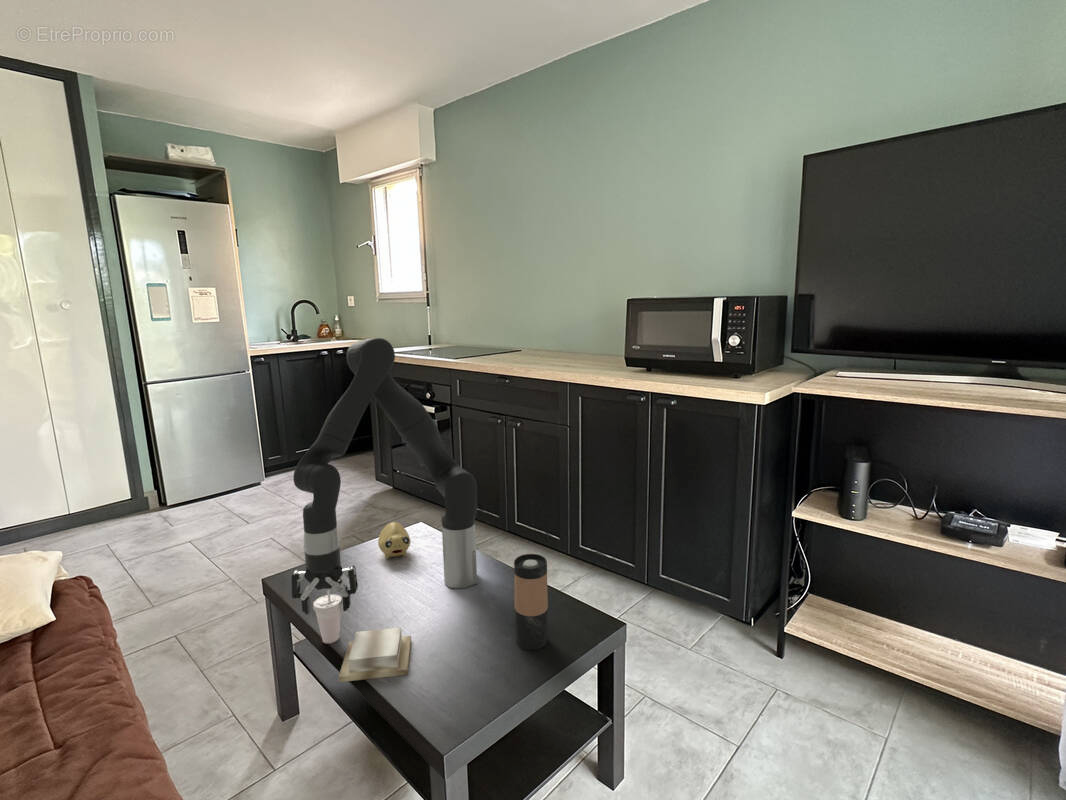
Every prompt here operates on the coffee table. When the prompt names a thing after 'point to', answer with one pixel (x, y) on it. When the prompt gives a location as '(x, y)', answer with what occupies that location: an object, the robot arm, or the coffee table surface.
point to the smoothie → (328, 616)
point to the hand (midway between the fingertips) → (326, 611)
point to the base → (378, 672)
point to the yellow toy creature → (394, 540)
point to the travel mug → (531, 601)
